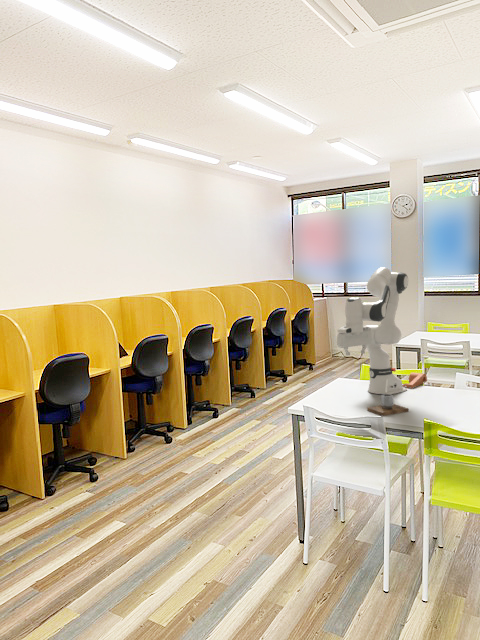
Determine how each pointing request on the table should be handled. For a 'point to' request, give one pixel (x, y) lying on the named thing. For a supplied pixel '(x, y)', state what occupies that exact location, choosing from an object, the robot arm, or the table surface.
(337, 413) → the table surface
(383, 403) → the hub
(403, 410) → the stand
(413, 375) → the crank
